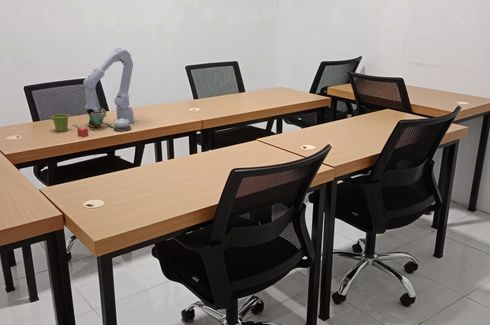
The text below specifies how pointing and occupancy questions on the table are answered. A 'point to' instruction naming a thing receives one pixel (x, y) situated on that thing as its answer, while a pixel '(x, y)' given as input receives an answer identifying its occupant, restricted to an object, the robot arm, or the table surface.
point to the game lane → (102, 122)
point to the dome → (121, 123)
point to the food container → (97, 118)
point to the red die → (82, 132)
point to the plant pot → (60, 122)
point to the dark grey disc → (122, 129)
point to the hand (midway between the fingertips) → (93, 121)
